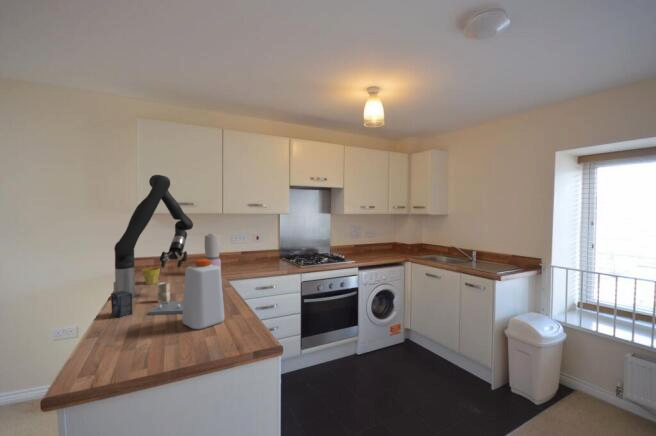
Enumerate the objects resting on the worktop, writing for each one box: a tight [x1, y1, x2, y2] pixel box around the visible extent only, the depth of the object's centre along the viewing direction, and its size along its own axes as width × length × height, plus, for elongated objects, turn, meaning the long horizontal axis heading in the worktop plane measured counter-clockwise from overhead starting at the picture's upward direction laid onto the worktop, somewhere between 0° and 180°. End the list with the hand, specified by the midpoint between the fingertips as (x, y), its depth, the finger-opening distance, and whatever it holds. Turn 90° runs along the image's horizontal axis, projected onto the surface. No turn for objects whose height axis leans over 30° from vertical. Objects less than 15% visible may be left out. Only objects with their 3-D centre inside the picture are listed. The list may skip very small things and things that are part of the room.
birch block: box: [157, 281, 171, 304], centre depth 165 cm, size 4×4×10 cm
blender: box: [204, 232, 222, 270], centre depth 234 cm, size 16×12×32 cm
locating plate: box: [148, 299, 184, 316], centre depth 152 cm, size 16×16×4 cm
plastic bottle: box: [181, 258, 225, 330], centre depth 134 cm, size 15×15×28 cm
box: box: [110, 291, 133, 318], centre depth 144 cm, size 8×6×11 cm
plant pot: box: [141, 267, 161, 285], centre depth 206 cm, size 10×10×10 cm
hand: (170, 266), depth 174 cm, fingers open, 8 cm apart
